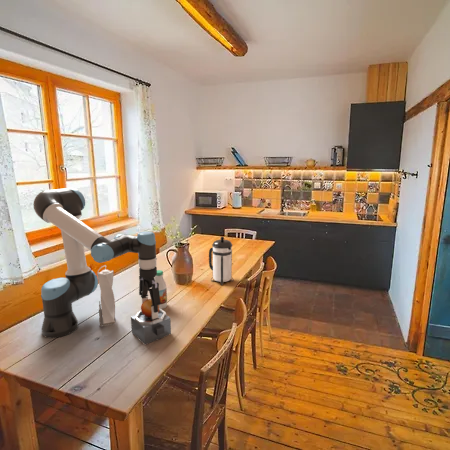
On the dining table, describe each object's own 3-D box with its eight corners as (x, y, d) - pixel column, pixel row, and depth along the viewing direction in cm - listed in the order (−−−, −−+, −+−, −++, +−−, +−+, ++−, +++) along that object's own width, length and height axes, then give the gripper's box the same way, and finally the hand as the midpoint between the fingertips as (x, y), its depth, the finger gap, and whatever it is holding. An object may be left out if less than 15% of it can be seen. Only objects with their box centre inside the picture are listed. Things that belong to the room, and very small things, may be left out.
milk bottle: (153, 310, 165) (151, 274, 161) (152, 303, 173) (150, 269, 168) (167, 308, 167) (166, 273, 163) (166, 302, 175) (165, 268, 170)
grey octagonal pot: (147, 347, 133) (146, 327, 131) (131, 332, 144) (130, 314, 143) (173, 336, 142) (173, 317, 140) (156, 322, 153) (156, 305, 151)
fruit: (149, 305, 148) (154, 294, 144) (158, 317, 145) (164, 306, 141) (134, 311, 142) (139, 300, 138) (144, 324, 139) (149, 313, 135)
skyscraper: (99, 318, 157) (95, 265, 151) (116, 315, 160) (113, 263, 154) (99, 326, 150) (94, 271, 144) (117, 323, 152) (113, 269, 147)
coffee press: (234, 276, 213) (234, 233, 206) (232, 286, 197) (233, 239, 191) (209, 275, 214) (208, 233, 208) (205, 284, 199) (205, 239, 192)
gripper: (167, 271, 132) (169, 320, 137) (144, 259, 147) (146, 304, 152) (151, 275, 127) (154, 326, 132) (129, 262, 142) (132, 308, 147)
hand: (150, 314), depth 142 cm, fingers closed on fruit, 8 cm apart
